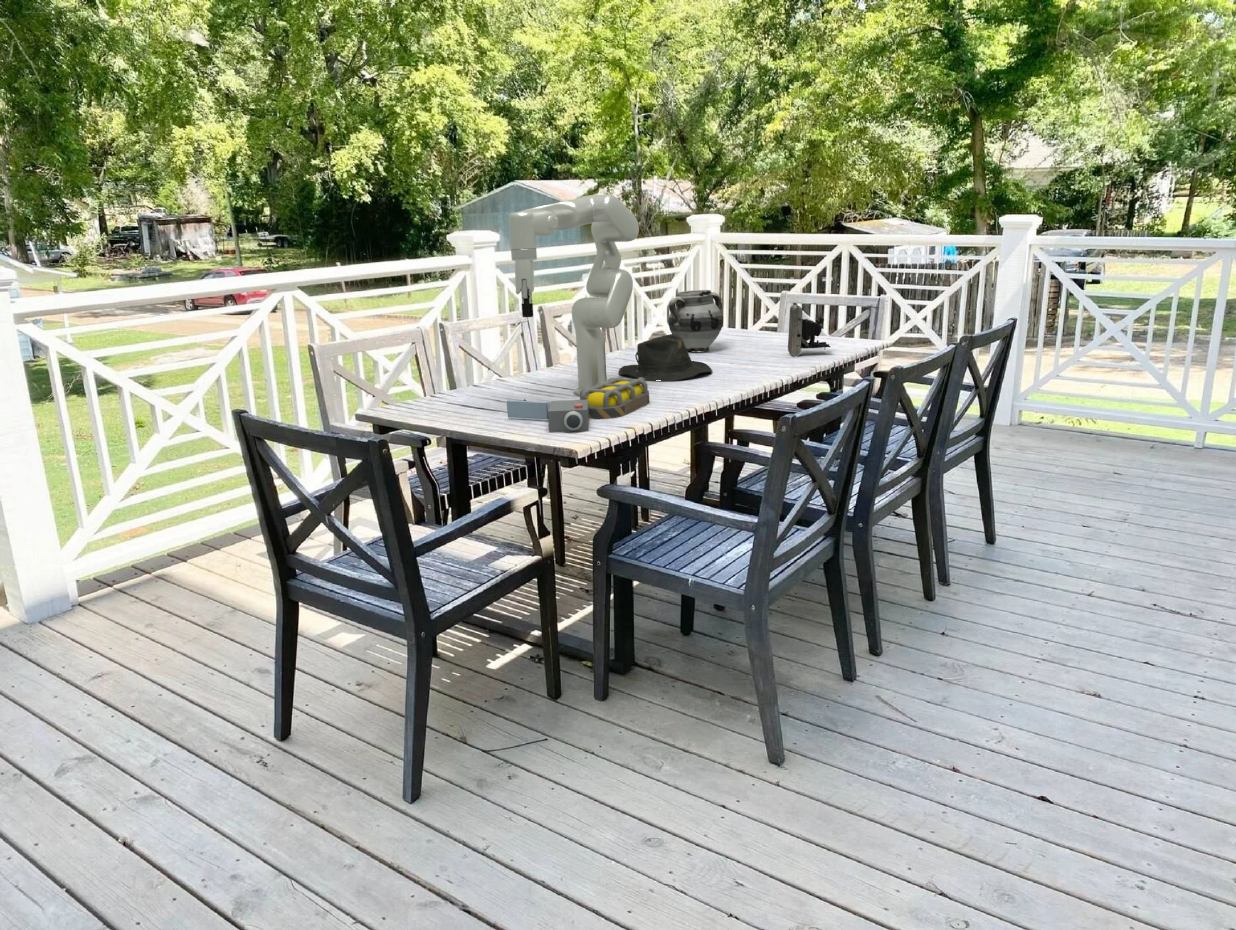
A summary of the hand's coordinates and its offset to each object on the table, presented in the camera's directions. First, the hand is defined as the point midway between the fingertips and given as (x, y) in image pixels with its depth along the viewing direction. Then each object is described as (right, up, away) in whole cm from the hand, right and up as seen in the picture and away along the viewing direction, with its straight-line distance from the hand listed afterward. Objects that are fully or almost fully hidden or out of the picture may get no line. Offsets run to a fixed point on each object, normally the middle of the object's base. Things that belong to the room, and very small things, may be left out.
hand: (528, 316), depth 281 cm
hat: (+45, -11, +62) cm, 77 cm away
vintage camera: (+103, -1, +88) cm, 136 cm away
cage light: (+26, -28, +7) cm, 39 cm away
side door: (+1, -31, -4) cm, 31 cm away
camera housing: (+13, -34, -13) cm, 38 cm away
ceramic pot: (+60, +3, +107) cm, 123 cm away
